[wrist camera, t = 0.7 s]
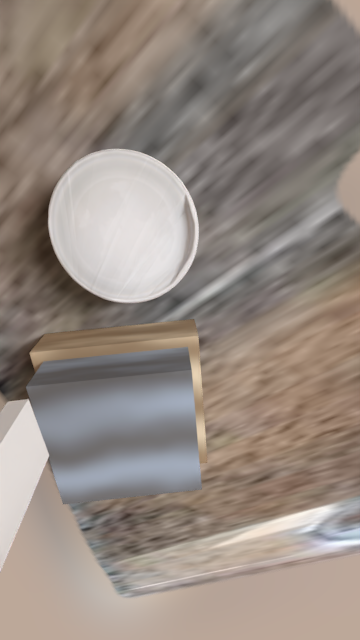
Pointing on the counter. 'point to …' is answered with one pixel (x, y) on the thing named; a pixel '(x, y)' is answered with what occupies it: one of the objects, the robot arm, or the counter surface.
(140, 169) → the ramekin
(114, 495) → the block tower
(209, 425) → the counter surface
